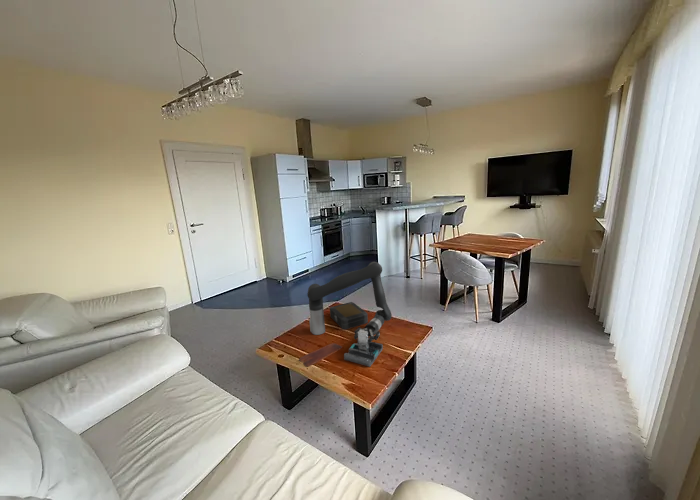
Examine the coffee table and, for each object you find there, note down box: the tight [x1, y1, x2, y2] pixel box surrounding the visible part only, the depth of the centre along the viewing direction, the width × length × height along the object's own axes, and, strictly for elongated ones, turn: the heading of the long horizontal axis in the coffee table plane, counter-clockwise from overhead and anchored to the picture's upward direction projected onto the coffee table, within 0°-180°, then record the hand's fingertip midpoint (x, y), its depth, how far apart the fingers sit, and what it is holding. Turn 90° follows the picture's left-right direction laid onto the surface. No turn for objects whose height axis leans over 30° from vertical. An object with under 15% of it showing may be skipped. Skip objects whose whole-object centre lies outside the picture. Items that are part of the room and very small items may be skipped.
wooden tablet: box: [298, 342, 343, 368], centre depth 168 cm, size 27×10×2 cm, turn 131°
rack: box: [343, 339, 384, 368], centre depth 165 cm, size 16×18×4 cm
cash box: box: [329, 301, 369, 330], centre depth 208 cm, size 25×20×8 cm
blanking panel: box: [357, 330, 369, 352], centre depth 164 cm, size 5×2×13 cm, turn 61°
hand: (361, 339), depth 161 cm, fingers open, 8 cm apart
